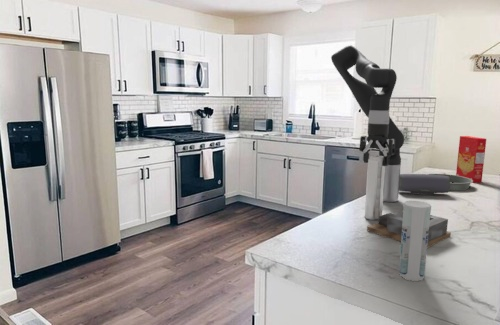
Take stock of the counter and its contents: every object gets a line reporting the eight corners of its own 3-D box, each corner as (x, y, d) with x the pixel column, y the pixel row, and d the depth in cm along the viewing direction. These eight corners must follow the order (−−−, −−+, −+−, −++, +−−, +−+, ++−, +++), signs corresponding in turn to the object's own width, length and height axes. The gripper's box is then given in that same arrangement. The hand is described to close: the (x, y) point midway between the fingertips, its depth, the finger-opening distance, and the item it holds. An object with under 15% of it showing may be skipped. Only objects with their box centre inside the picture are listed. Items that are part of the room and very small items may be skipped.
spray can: (397, 268, 103) (402, 199, 100) (422, 271, 101) (428, 201, 98) (399, 279, 97) (405, 206, 94) (426, 283, 95) (433, 208, 92)
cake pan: (471, 193, 186) (472, 185, 185) (418, 187, 199) (419, 179, 198) (472, 184, 207) (473, 176, 206) (424, 179, 219) (425, 171, 219)
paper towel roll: (382, 216, 149) (386, 155, 144) (380, 221, 143) (385, 157, 138) (365, 214, 151) (369, 154, 147) (363, 219, 145) (367, 156, 141)
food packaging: (455, 177, 224) (459, 136, 220) (463, 177, 224) (468, 136, 220) (472, 182, 209) (477, 138, 205) (481, 182, 210) (486, 138, 206)
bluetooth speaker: (443, 192, 188) (445, 173, 186) (449, 197, 179) (451, 177, 177) (396, 190, 192) (397, 171, 190) (400, 195, 183) (401, 175, 181)
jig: (366, 230, 133) (368, 213, 132) (394, 220, 144) (395, 204, 143) (423, 249, 117) (425, 229, 116) (450, 236, 128) (452, 218, 126)
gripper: (356, 121, 144) (354, 162, 147) (389, 123, 133) (386, 168, 136) (368, 121, 148) (366, 160, 151) (401, 123, 137) (397, 166, 140)
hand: (375, 164), depth 143 cm, fingers open, 8 cm apart
